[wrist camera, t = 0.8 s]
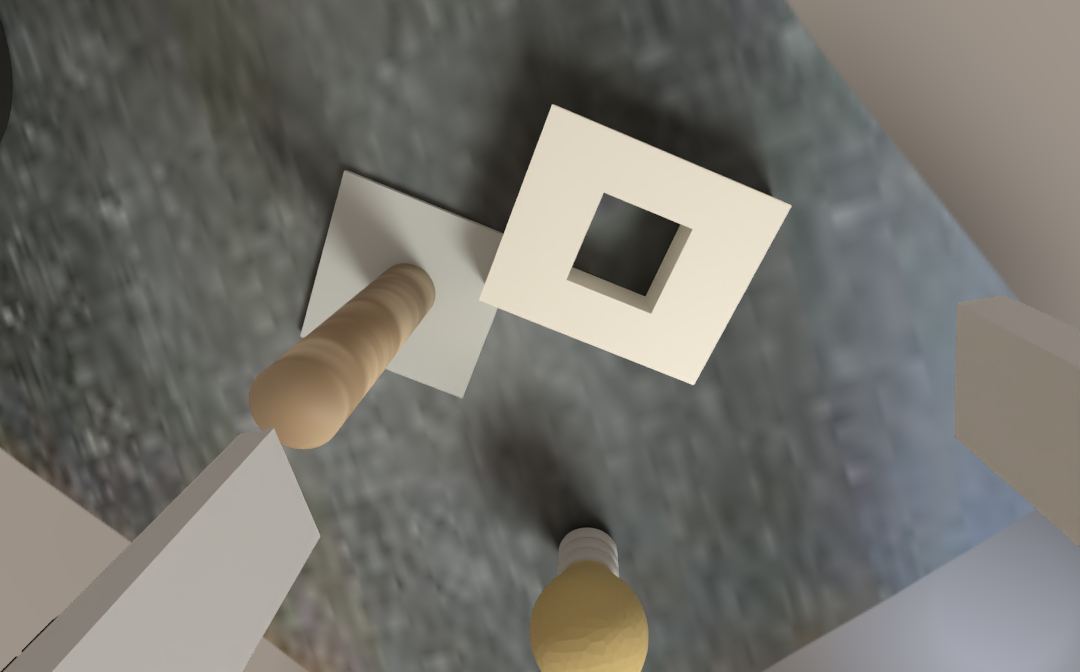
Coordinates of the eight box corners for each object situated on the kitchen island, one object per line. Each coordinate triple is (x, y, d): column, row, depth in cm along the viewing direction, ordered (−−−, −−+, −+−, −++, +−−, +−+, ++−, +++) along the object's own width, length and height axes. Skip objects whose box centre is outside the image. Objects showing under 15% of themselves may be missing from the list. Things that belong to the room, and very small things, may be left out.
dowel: (371, 306, 34) (240, 429, 21) (387, 254, 33) (259, 350, 20) (425, 327, 34) (328, 461, 21) (443, 276, 33) (351, 385, 20)
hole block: (487, 284, 34) (478, 300, 31) (555, 104, 30) (552, 104, 27) (684, 362, 35) (693, 385, 32) (772, 196, 31) (791, 205, 28)
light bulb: (527, 514, 39) (509, 642, 30) (625, 495, 38) (638, 622, 29) (553, 591, 41) (544, 734, 32) (646, 575, 40) (666, 718, 31)
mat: (303, 333, 35) (300, 336, 35) (346, 169, 32) (344, 170, 32) (463, 395, 36) (462, 398, 36) (523, 241, 33) (522, 242, 32)
